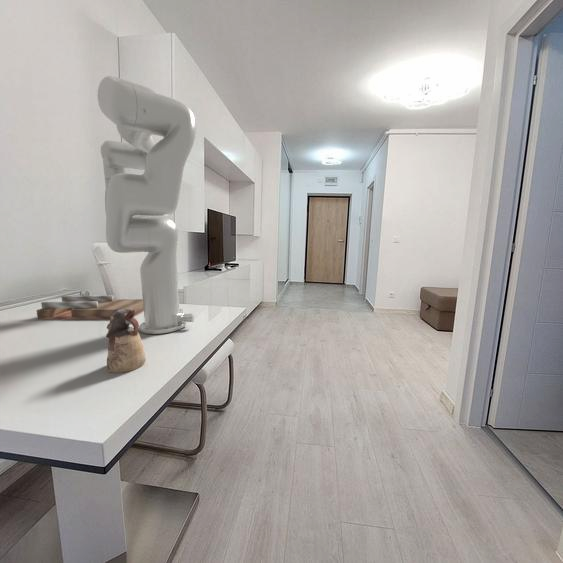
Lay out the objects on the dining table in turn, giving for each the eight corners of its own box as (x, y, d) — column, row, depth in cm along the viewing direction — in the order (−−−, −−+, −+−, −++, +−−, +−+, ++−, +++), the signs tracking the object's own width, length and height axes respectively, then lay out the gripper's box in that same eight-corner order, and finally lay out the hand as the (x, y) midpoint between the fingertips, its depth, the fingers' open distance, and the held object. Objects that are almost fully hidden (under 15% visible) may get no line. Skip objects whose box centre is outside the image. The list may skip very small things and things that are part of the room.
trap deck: (150, 307, 106) (149, 293, 105) (131, 318, 92) (129, 303, 91) (69, 307, 106) (67, 294, 105) (37, 319, 92) (35, 304, 91)
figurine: (122, 357, 64) (116, 304, 61) (152, 358, 63) (148, 305, 61) (99, 372, 57) (91, 314, 54) (132, 374, 56) (126, 315, 54)
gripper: (120, 189, 108) (125, 238, 111) (91, 181, 91) (98, 239, 94) (140, 189, 108) (144, 238, 111) (114, 181, 91) (120, 239, 94)
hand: (123, 238), depth 102 cm, fingers closed on block, 5 cm apart
